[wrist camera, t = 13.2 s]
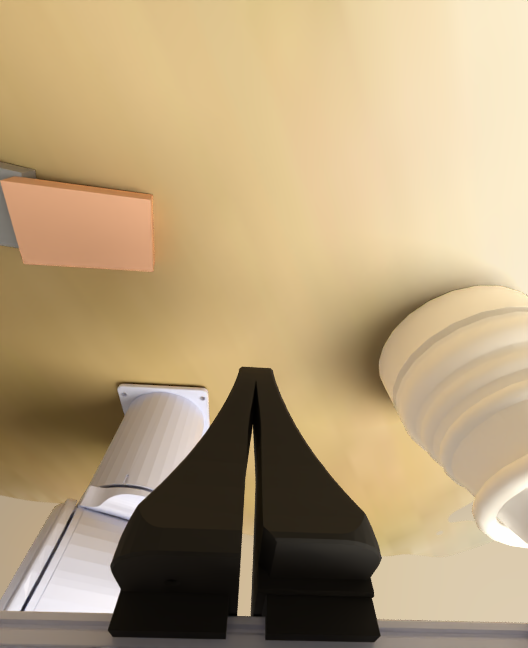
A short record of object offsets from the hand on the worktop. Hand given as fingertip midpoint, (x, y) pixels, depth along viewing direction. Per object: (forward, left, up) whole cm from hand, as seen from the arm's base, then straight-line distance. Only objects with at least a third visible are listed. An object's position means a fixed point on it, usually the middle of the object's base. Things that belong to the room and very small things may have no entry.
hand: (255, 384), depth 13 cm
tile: (+4, +7, -9) cm, 12 cm away
